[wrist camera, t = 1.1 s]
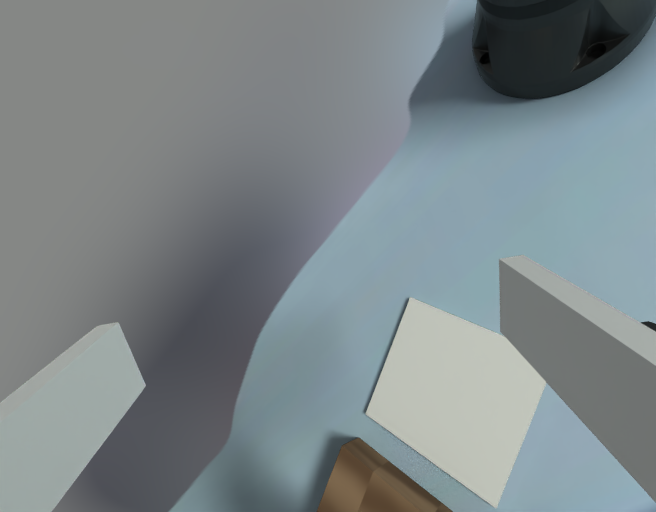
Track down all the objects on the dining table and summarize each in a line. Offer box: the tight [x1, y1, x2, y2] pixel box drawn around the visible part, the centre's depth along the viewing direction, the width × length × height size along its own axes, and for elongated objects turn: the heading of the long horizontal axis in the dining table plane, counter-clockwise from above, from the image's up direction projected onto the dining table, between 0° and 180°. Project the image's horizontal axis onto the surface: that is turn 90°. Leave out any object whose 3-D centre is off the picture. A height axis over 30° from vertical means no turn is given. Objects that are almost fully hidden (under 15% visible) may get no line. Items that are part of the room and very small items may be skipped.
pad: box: [366, 297, 547, 508], centre depth 33 cm, size 14×14×1 cm
